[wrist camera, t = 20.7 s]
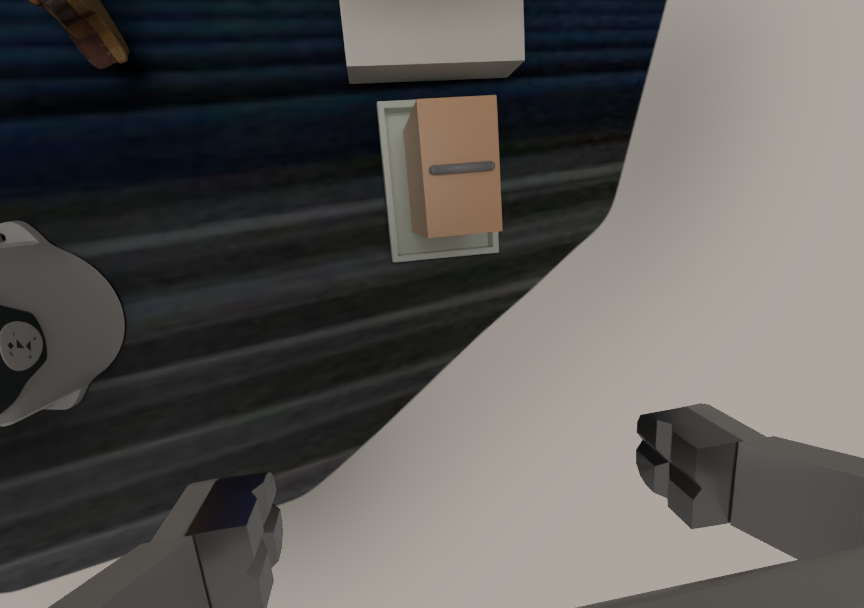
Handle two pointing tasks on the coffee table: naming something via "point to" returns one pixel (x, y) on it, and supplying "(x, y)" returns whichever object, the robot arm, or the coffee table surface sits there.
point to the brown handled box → (453, 166)
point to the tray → (398, 203)
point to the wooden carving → (89, 30)
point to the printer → (431, 39)
